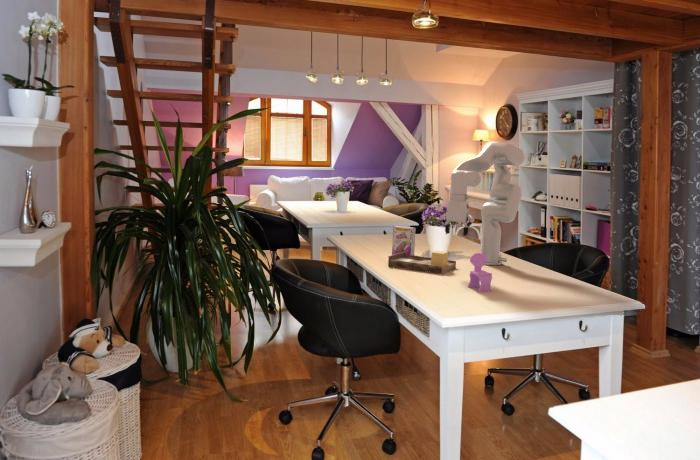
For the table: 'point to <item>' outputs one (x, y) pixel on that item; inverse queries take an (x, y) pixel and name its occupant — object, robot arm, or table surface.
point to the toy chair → (479, 273)
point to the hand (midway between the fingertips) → (456, 234)
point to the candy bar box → (403, 240)
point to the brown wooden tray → (418, 263)
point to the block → (439, 258)
